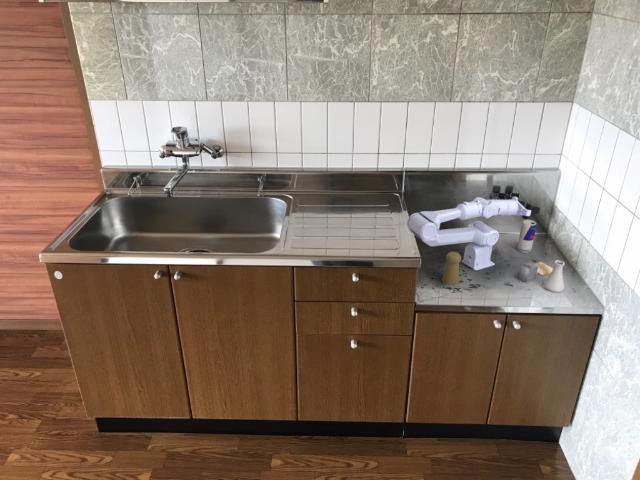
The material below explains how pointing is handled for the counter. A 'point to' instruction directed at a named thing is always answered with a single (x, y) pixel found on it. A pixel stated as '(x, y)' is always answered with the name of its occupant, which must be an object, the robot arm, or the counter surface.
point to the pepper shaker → (451, 269)
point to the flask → (555, 278)
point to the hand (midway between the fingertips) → (531, 207)
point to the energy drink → (526, 236)
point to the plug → (528, 272)
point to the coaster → (543, 268)
